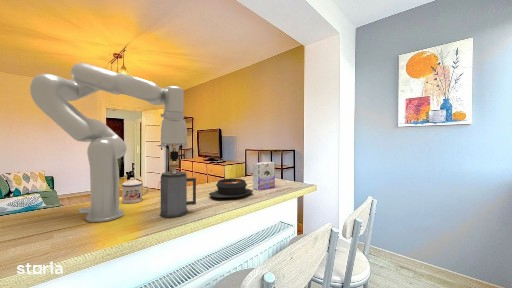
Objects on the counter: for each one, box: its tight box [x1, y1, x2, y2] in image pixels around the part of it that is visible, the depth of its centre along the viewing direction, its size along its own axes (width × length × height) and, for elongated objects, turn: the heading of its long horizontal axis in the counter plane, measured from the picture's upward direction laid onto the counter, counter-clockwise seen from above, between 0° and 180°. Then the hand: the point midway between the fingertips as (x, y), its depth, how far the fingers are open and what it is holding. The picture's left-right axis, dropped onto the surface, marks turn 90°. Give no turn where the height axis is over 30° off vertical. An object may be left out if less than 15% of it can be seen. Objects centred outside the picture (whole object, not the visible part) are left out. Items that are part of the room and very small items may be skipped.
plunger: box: [169, 160, 180, 174], centre depth 95 cm, size 8×8×20 cm
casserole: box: [208, 178, 254, 199], centre depth 125 cm, size 25×19×8 cm
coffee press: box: [159, 170, 197, 219], centre depth 96 cm, size 14×11×17 cm
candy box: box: [252, 161, 276, 191], centre depth 144 cm, size 14×6×16 cm, turn 128°
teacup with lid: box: [121, 177, 150, 204], centre depth 113 cm, size 12×9×12 cm
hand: (174, 161), depth 95 cm, fingers closed
